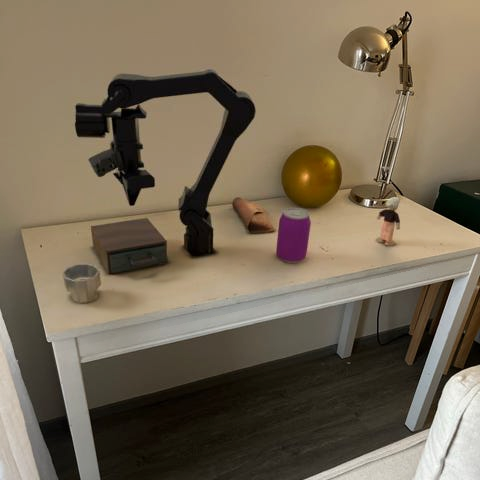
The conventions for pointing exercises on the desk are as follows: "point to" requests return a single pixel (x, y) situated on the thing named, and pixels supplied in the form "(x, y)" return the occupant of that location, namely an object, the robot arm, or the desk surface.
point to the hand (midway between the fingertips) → (131, 205)
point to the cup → (82, 282)
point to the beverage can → (293, 235)
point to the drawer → (138, 258)
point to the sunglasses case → (252, 216)
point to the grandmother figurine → (389, 221)
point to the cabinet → (124, 238)
